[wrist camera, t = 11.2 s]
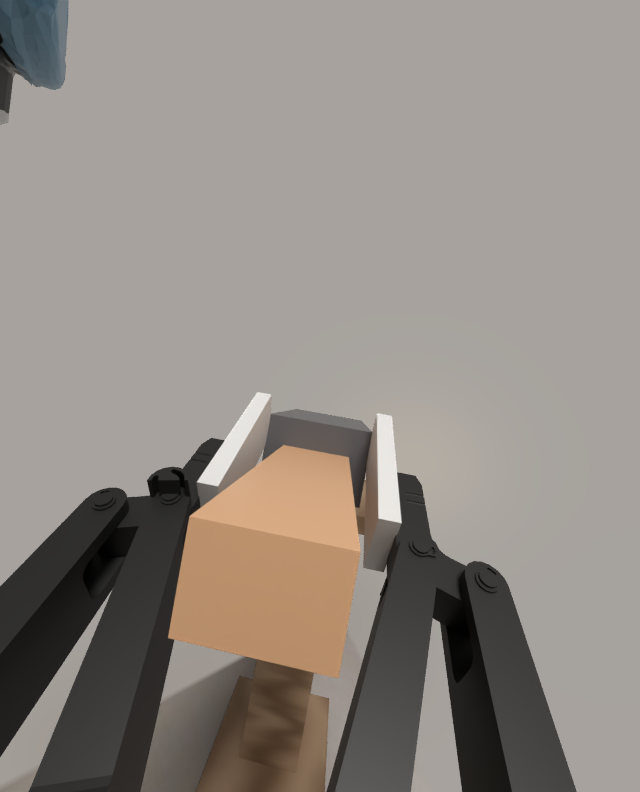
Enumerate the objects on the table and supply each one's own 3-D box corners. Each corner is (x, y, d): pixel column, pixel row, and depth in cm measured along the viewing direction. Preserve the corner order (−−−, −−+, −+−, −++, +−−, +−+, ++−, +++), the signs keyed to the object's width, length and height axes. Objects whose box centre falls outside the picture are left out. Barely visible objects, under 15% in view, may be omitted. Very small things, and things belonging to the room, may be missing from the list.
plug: (121, 626, 7) (155, 434, 7) (288, 455, 27) (296, 409, 27) (389, 690, 6) (425, 485, 6) (352, 467, 27) (361, 420, 27)
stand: (184, 829, 28) (247, 477, 28) (237, 687, 42) (279, 452, 42) (318, 868, 27) (382, 504, 27) (327, 710, 41) (369, 470, 41)
